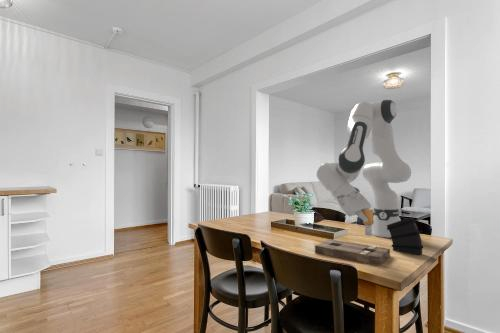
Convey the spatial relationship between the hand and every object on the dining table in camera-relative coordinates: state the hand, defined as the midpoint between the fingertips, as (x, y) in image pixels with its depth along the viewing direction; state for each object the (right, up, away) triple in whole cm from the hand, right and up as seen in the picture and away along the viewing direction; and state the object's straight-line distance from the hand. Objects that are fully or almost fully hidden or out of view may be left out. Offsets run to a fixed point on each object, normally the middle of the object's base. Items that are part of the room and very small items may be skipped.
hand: (369, 220), depth 111 cm
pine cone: (-9, -16, +67) cm, 69 cm away
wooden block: (0, -6, 0) cm, 6 cm away
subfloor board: (-6, -15, +5) cm, 17 cm away
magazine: (+18, -15, +8) cm, 25 cm away
